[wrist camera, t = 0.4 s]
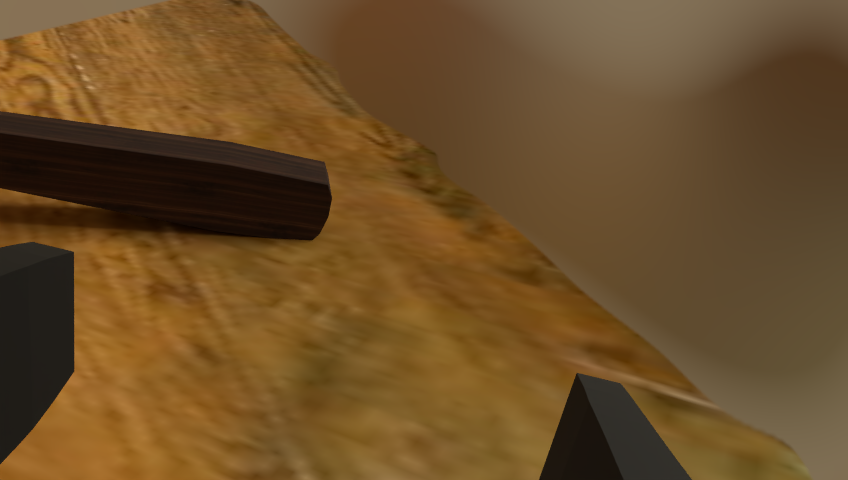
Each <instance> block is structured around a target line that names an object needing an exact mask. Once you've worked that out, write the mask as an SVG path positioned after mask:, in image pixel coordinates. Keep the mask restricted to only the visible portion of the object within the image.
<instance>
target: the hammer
mask: <svg viewBox="0 0 848 480" xmlns="http://www.w3.org/2000/svg"><path fill="white" fill-rule="evenodd" d="M0 188H2V189H7V190H12V191H17V192H22V193H27V194H32V195H37V196H42V197H47V198H52V199H57V200H62V201H67V202H72V203H77V204H82V205H87V206H92V207H97V208H102V209H107V210H112V211H117V212H122V213H127V214H132V215H137V216H142V217H147V218H152V219H157V220H162V221H167V222H172V223H177V224H182V225H187V226H192V227H197V228H202V229H208V230H213V231H219V232H226V233H234V234H242V235H250V236H258V237H266V238H275V239H298V240H313V239H314V238H315V237H317V236H318V235H319V234H320V232H321V230H322V228H323V226H324V224H325V222H326V220H327V218H328V216H329V211H330V206H331V201H332V196H331V190H330V184H329V178H328V173H327V169H326V166H325V162H322V161H317V160H313V159H308V158H303V157H298V156H294V155H289V154H284V153H280V152H275V151H270V150H265V149H261V148H256V147H251V146H247V145H242V144H237V143H233V142H226V141H219V140H211V139H204V138H196V137H189V136H181V135H174V134H166V133H159V132H151V131H144V130H136V129H129V128H121V127H114V126H106V125H99V124H91V123H84V122H76V121H69V120H61V119H54V118H46V117H39V116H31V115H24V114H16V113H9V112H1V111H0Z"/></svg>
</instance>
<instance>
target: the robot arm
mask: <svg viewBox="0 0 848 480" xmlns="http://www.w3.org/2000/svg"><path fill="white" fill-rule="evenodd" d="M73 372H74V252H72V251H68V250H64V249H60V248H56V247H51V246H47V245H43V244H39V243H35V242H29V243H22V244H16V245H11V246H6V247H2V248H0V464H1V463H2V462H3V461H4V460H5V459H6V458H7V456H8V455H9V454H10V453H11V452H12V451H13V450H14V449H15V448H16V447H17V446H18V445H19V444H20V443H21V441H22V440H23V439H24V438H25V437H26V436H27V435H28V434H29V433H30V432H31V430H32V429H33V428H34V427H35V426H36V424H37V423H38V421H39V420H40V419H41V417H42V416H43V415H44V413H45V412H46V411H47V409H48V408H49V407H50V405H51V404H52V403H53V401H54V400H55V398H56V397H57V395H58V394H59V393H60V391H61V390H62V388H63V387H64V385H65V384H66V382H67V381H68V380H69V378H70V377H71V375H72V374H73ZM539 480H692V479H691V478H690V477H689V475H688V474H687V473H686V471H685V470H684V469H683V467H682V466H681V465H680V463H679V462H678V461H677V459H676V458H675V457H674V455H673V454H672V453H671V451H670V450H669V449H668V447H667V446H666V444H665V443H664V442H663V440H662V439H661V437H660V436H659V435H658V433H657V432H656V431H655V429H654V428H653V426H652V425H651V424H650V422H649V421H648V420H647V418H646V417H645V415H644V414H643V413H642V411H641V410H640V408H639V407H638V406H637V404H636V403H635V402H634V400H633V399H632V398H631V396H630V395H629V394H628V392H627V391H626V390H625V388H624V387H623V386H622V385H621V383H617V382H612V381H608V380H604V379H600V378H596V377H592V376H588V375H583V374H579V373H577V374H576V377H575V379H574V382H573V385H572V388H571V391H570V394H569V397H568V399H567V402H566V405H565V408H564V411H563V414H562V416H561V419H560V422H559V425H558V428H557V431H556V433H555V436H554V439H553V442H552V445H551V448H550V450H549V453H548V456H547V459H546V462H545V465H544V467H543V470H542V473H541V476H540V479H539Z"/></svg>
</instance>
